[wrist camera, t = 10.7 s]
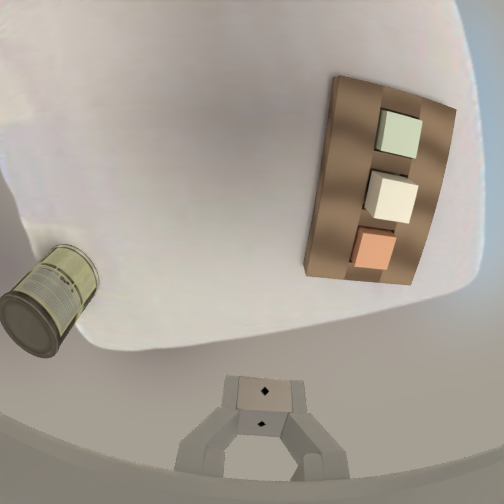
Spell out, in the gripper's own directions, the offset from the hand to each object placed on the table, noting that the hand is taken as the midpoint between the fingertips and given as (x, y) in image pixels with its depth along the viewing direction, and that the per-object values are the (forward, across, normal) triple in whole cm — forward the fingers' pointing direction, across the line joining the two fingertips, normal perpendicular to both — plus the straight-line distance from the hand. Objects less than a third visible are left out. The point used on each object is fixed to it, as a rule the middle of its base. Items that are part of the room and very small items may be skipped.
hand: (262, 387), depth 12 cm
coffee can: (+29, +28, +16) cm, 44 cm away
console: (+29, -14, -2) cm, 32 cm away
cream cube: (+26, -14, -2) cm, 30 cm away
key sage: (+28, -14, -9) cm, 33 cm away
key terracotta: (+28, -14, +5) cm, 32 cm away
